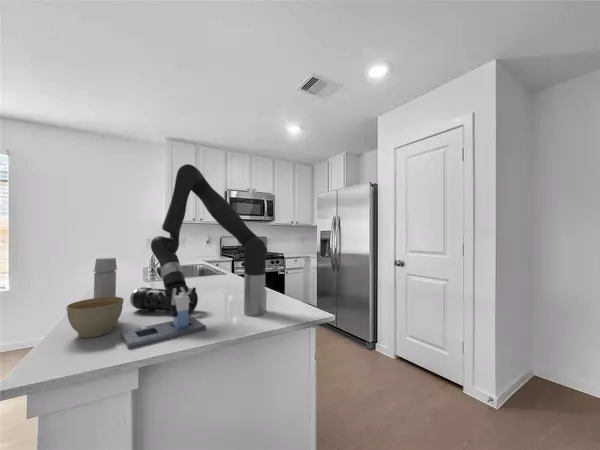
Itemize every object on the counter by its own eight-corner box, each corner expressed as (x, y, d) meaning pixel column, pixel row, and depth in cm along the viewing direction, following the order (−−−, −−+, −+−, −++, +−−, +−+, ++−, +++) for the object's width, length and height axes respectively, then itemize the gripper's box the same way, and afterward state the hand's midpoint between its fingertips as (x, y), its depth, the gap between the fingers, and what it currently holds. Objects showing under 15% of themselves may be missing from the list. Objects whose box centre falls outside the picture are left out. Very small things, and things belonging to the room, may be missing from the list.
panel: (192, 321, 107) (192, 316, 107) (205, 331, 97) (205, 325, 97) (120, 337, 91) (120, 331, 91) (127, 350, 81) (128, 343, 81)
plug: (184, 325, 101) (185, 291, 101) (188, 328, 98) (188, 293, 98) (173, 328, 98) (173, 292, 98) (176, 331, 95) (177, 294, 95)
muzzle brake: (185, 317, 112) (185, 293, 112) (128, 313, 118) (128, 289, 118) (198, 311, 122) (198, 288, 122) (144, 307, 127) (145, 285, 127)
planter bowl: (116, 322, 106) (117, 294, 107) (128, 333, 95) (128, 302, 95) (62, 333, 95) (63, 302, 95) (68, 347, 84) (69, 311, 84)
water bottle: (118, 321, 107) (119, 258, 108) (94, 326, 101) (95, 259, 102) (112, 316, 113) (113, 256, 114) (89, 320, 108) (90, 258, 108)
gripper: (154, 272, 99) (163, 313, 90) (193, 268, 109) (205, 305, 99) (151, 284, 103) (159, 324, 94) (189, 280, 113) (199, 316, 103)
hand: (183, 314), depth 97 cm, fingers closed on plug, 4 cm apart
